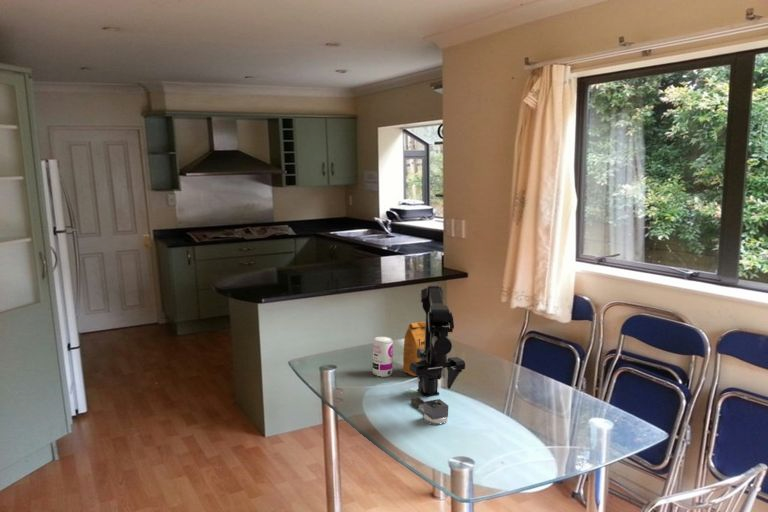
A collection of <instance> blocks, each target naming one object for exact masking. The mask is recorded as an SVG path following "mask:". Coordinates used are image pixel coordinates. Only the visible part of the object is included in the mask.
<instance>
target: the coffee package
mask: <svg viewBox="0 0 768 512" xmlns="http://www.w3.org/2000/svg"><path fill="white" fill-rule="evenodd" d="M417 349H424V351H425V320H424V321H418V322H417V321H416V322H412V323H409V325H408V326H407V329H406V332H405V334H404V342H403V358H402V359H403V361H402V362H403V364H402V365H403V368H402V370H403V371H402V372H404V373H406V374H409V375H410V376H414V377H418V376H417V375H415V374H414V373H413V372H411V371H410V370H409V369H410V364H411V363H412V362H420V358H417Z"/></svg>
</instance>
